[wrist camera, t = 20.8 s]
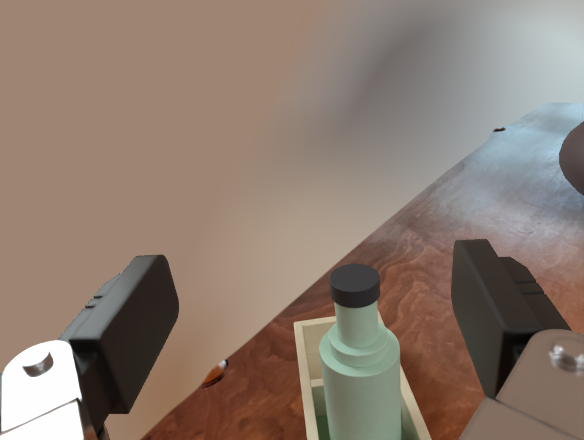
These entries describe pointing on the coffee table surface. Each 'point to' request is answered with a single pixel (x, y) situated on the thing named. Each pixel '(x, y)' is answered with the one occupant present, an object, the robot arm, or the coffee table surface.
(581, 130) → the flattened ellipsoid
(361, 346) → the bottle
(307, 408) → the cream rectangular tray
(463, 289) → the robot arm
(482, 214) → the coffee table surface
